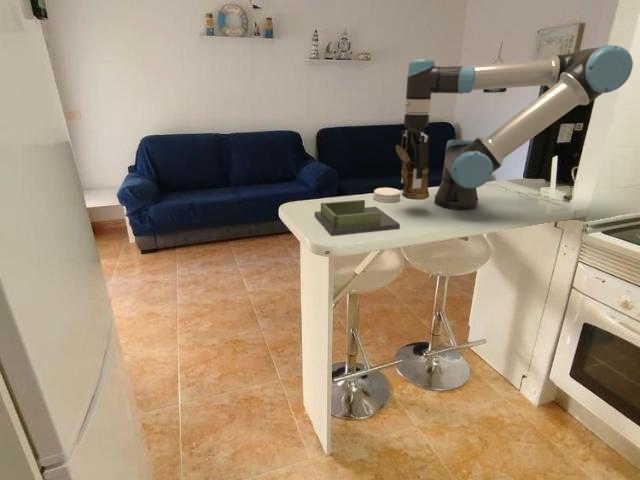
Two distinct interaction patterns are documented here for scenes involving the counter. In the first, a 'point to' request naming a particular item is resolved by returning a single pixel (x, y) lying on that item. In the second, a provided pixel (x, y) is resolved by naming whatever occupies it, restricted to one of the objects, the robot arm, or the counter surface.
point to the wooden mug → (408, 181)
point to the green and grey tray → (353, 218)
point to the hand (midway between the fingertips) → (410, 185)
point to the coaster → (387, 195)
